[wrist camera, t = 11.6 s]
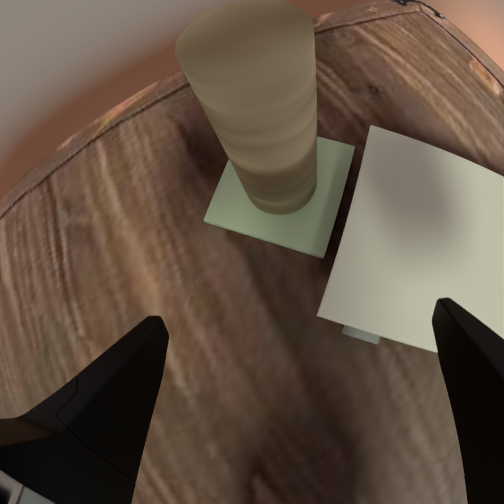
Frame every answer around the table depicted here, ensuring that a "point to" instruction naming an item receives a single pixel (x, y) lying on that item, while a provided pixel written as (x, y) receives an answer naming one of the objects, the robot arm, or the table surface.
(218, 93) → the birch roller
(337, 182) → the pad
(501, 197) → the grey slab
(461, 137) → the table surface
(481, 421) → the robot arm
